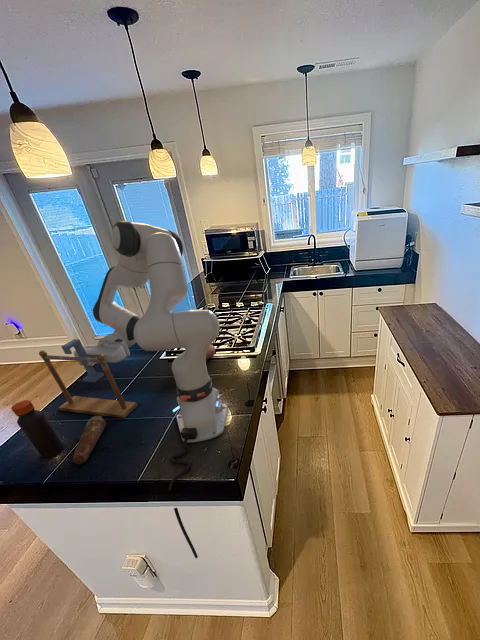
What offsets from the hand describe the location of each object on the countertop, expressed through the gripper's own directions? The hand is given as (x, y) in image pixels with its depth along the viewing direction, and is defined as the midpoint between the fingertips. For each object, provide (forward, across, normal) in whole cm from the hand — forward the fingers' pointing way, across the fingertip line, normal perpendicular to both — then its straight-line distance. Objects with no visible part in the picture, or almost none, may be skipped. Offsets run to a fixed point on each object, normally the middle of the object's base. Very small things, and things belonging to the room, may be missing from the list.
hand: (84, 363), depth 118 cm
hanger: (0, 0, +7) cm, 7 cm away
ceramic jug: (-41, +23, +19) cm, 50 cm away
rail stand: (+3, 0, +18) cm, 19 cm away
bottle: (+27, +2, +19) cm, 33 cm away
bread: (+22, +14, +19) cm, 32 cm away
